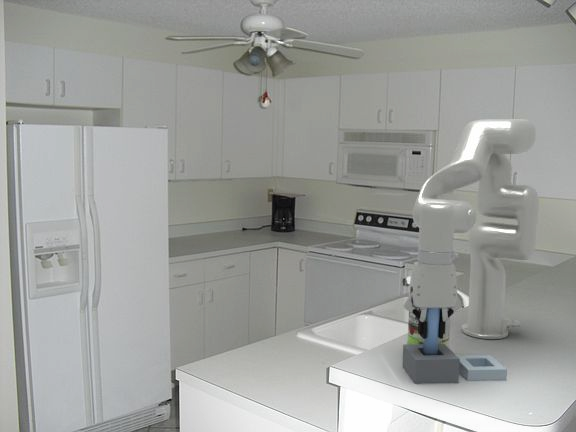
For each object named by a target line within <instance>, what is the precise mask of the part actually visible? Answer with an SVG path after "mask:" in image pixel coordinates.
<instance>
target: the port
mask: <svg viewBox="0 0 576 432" xmlns="http://www.w3.org/2000/svg"><path fill="white" fill-rule="evenodd" d="M402 347H403V348H402V368H403V370H404V371H405V373H406V374H407V375H408V377H409V378H410V379H411V381H412V382H413V383H414V384H415V385H421V384H422V385H424V384H428V385H429V384H460V383H459V382H460V372H459V366H460V359H459V358H458V357H457V356H458V355H457V354H455V352H453V351H452V350H451V349H450V348H448V347H447V346H446V345H445V344H438V355H424V354H423V348H424V344H407V343H405V344H403V345H402Z"/></svg>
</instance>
